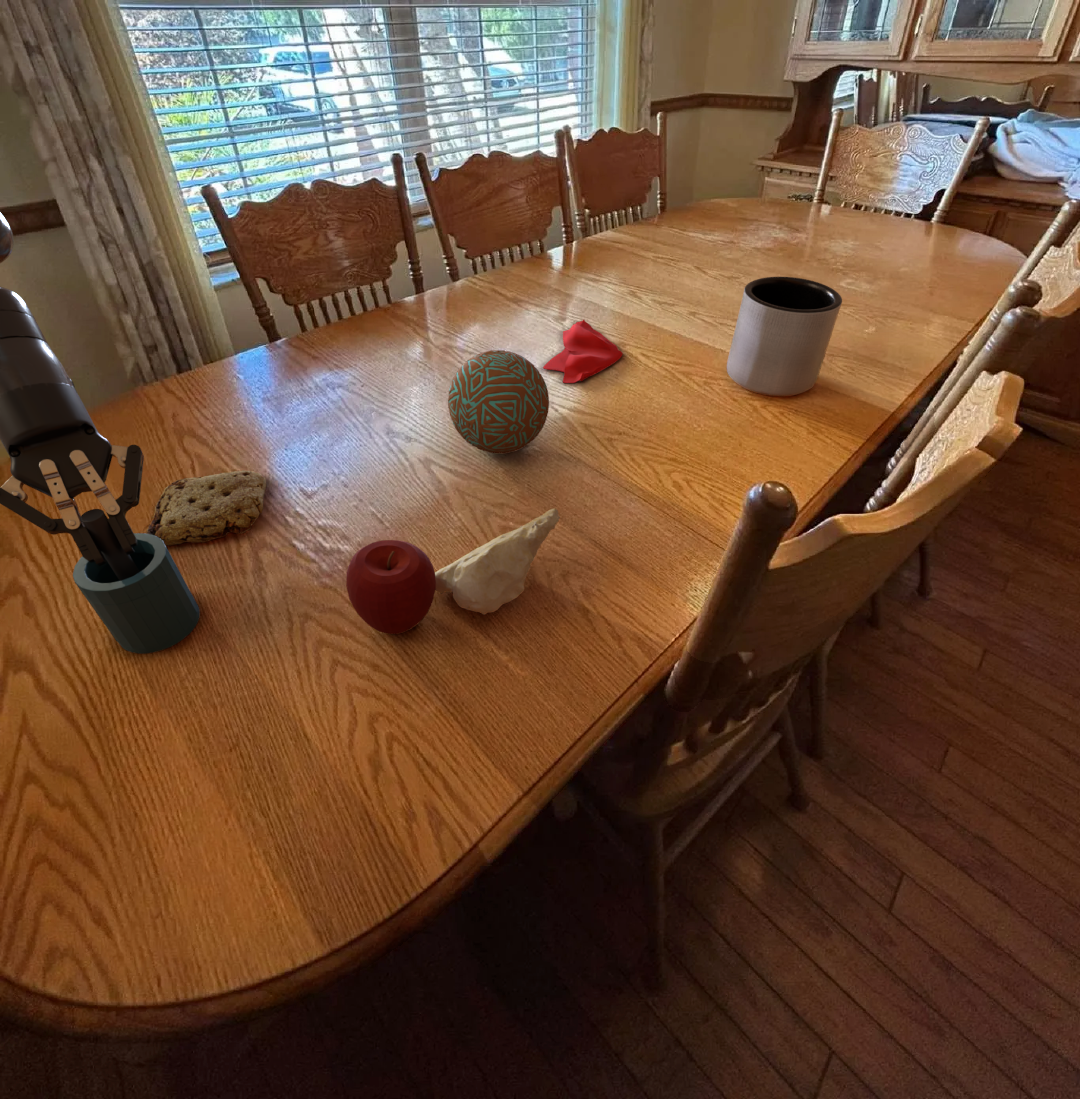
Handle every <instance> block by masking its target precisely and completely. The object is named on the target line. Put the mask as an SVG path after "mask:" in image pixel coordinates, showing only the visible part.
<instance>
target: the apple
mask: <svg viewBox="0 0 1080 1099" xmlns="http://www.w3.org/2000/svg"><path fill="white" fill-rule="evenodd" d="M435 572H436V571H435V568H434V565H433V562H432V560H430V558H429V556H428V555H427V553H426V552H425V551H423V550H422V549H421V548H420V547H418V546H416V545H415V544H413V543H411V542H409V541H404V540H399V539H385V540H384V539H382V540H377V541H374V542H371V543H368V544H367V545H365V546H363V547H361V548H360V549H359V550H357V551H356V552H355V553H354V555H352V558H351V559H350V562H349V564H348V566H347V568H346V575H345V576H346V578H345V579H346V580H345V587H346V591H347V596H348V599H349V601H350V604H351V605H352V607H353V609H354V610H355V612H356V613H357V615H358V616H359V617H360V618H361V620H362V621H364V622H365V624H367V625H368V626H369V627H370V628H372V629H374V630H375V631H377V632H379V633H383V634H386V635H399V634H402V633H405V632H407V631H409V630H412V629H413V628H414V627H416V626H418V624H420V622H421V621H423V619H424V618H425V617H426V615H427V614H428V612H429V611H430V609H431V608H432V604H433V602H434V598H435V595H436V590H435V589H436V577H435Z"/></svg>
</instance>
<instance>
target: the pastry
mask: <svg viewBox="0 0 1080 1099" xmlns="http://www.w3.org/2000/svg"><path fill="white" fill-rule="evenodd" d="M266 488H267V479H266V478H265V477H264V476H263V475H262V473H259V472H256V471H255V470H245V469H243V470H237V471H235V470H234V471H229V472H220V473H216V474H209V475H205V476H199V477H183V478H180V479H176V480H175V481H173V482H172V483H171V484H169V485H167V486H166V487H165V488H164V489H163V492H162V494H161V495H160V497H159V499H158V501H157V502H156V504H155V507H154V513H153V516H152V520H151V522H150V524H148V527H147V528H146V532H145V533H146V534H150V535H155V536H157V537H158V538H160V539H161V540H163V542H164V544H165V545H166V546H168V547H169V546H175V545H182V544H183V543H205V542H209V541H211V540H216V539H220V538H224V537H226V536H227V534H229V533H234V534H237V535H238V534H239V535H240V534H244V533H246V532H247V531H250V530H251V529H252V525H253V524H254V523H255V522H256V520H257V519H259V516H260V514H262V513H263V511H264V497H265V495H266V494H265V493H266Z"/></svg>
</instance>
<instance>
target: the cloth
mask: <svg viewBox="0 0 1080 1099" xmlns="http://www.w3.org/2000/svg"><path fill="white" fill-rule="evenodd" d="M562 342H563V347H564V349H563V350H562V351H561V352H559V353H558V354H556V355H554V356H553V357H551V359H550V360H548V361H547V362H546V363H545V364H544V366H542V369H543V370H550V371H557V372H561V373H564V374H563V379H562V383H563V384H576V383H578V382H584V381H585V380H586V379H589V378H590V377H592V376H594V375H596V374H598V373H600V372H602V371H604V370H605V369H607V368H608V367H610V366H612V365H614V364H615V363H617V362H618V361H619V360H620V359H621V358H622V357H623V354H624V353H623V352H622V351H621V350H619V348H618V346H617V345H616V344H614V343H613V342H612V341H611V340H609V339H608V338H607V337H606V336H605V335H603V334H602V333H601V332H600V331H598V330H596V329H594V328H593V326H591V325H590V324H589V323H588V322H587V321H586V320H585V319H582V320H580V321H576V322H575V323H573V324H572V325H571V327H570V328H569V329H566V330H563V331H562Z"/></svg>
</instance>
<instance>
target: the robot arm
mask: <svg viewBox="0 0 1080 1099" xmlns="http://www.w3.org/2000/svg"><path fill="white" fill-rule="evenodd" d="M14 242H15V241H14V234H13V231H12V229H11V226H10V224H9V222H8V220H7V219H6V218H5V216H4V215H3V214H2V213H1V212H0V264H2V263H4V262H5V261H6V260H7V259H8V258H9V257H10V255H11V254H12V252H13V249H14ZM35 318H36V317H35V316H34V314H33V313H32V311H31V309H30V307H29V306H28V304H27V303H26V301H25V300H24V299H23V298H22V297H21V295H19V294H18V293H17V292H15V291H13V290H12V289H9V288H6V287H3V286H0V442H1V444H2V446H3V447H4V449H5V451H6V453H7V455H8V456H9V459H10V467H9V468H10V470H9V471H10V474H11V475H12V476H10V477H9V478H8V479H7V480H6V481H5V482H4V483H3V484H2V485H1V486H0V505H1V506H3V507H5V508H7V509H8V510H10V511H12V512H13V513H14V514H17V515H18V516H20V517H21V518H23V519H25V520H26V521H28V522H30V523H31V524H33V525H35V526H36V527H38V528H40V529H41V530H43V531H44V532H46V533H48V534H50V535H54V536H55V535H56V536H57V535H59V534H68V535H70V536H71V537H72V539H73V541H74V543H75V545H76V546H77V548H78V550H79V553H80V554H81V557H82V556H83V557H84V558H85V559H86V560H87V561H89V562H90V563H92V562H94V561H95V563H96V564H97V565H99V566H101V565H103V564H106V563H107V562H106V560H105V558H104V556H103V554H102V552H101V550H100V549H99V547H98V546H97V544H96V542H95V541H94V539H93V538H92V536H91V535H90V533H89V532H88V530H87V528H86V527H85V526H84V524H83V523H82V521H81V519H80V518H81V516H82V514H81V513H80V510H79V507H78V504H77V501H76V499H75V498H76V497H77V496H79V495H81V494H82V493H89V492H93V494H94V496H95V497H96V499H97V501H99V503H100V504H101V506H102V508H103V509H104V510H105V514H106V516H107V518H108V519H107V520H108V522H109V524H110V526H111V527H112V529H113V531H114V533H115V535H116V537H117V539H118V541H119V542H120V544H121V546H122V548H123V550H124V552H125V553H126V554H127V555H129V554H132V553H134V552H135V551H134V549H133V547H134V546H136V545H137V539H136V537H135V535H134V533H135V532H134V531H133V529H132V527H131V525H130V524H129V521H128V520H127V518H126V516H127V512H129V511H130V510H131V509H133V508H136V507H137V506H139V504H140V497H141V489H142V480H143V470H144V459H145V456H144V455H145V454H144V453H143V451H142V448H141V447H140V446H139V445H137V444H129V445H128V446H122V445H114V444H112V443H111V442H110V441H109V440H108V439H107V438H105V437H104V436H103V435H102V434H100V432H99V431H98V429H97V427H96V425H95V423H94V422H93V419H92V418H91V416H90V414H89V412H88V410H87V408H86V407H85V404H84V402H83V401H82V399H81V396H80V394H78V391H77V389H76V388H75V384H74V382H73V380H72V378H70V376H69V374H68V372H67V370H66V369H65V367H64V365H63V364H62V362H61V361H60V360H59V357H57V355H56V354H55V352H54V351H53V350H52V348H51V346H50V345H49V343H48V341H47V339H46V337H45V336H44V333H43V332H42V330H41V328H40V326H39V324H38V323H37V320H36V319H35ZM113 457H114V458H116V459H117V463H118V465H119V466H120V467H121V468H122V469H124V475H123V484H122V490H121V491H122V492H121V494H120V495H119V497H117V498H115V497H114V496H113V494H112V492H111V491H110V489H109V487H108V486H107V484H106V481H107V478H108V475H109V470H110V466H111V464H112V459H113ZM24 485H25V486H27V487H30V488H32V489H34V490H36V491H37V492H40V493H42V494H43V495H46V496H48V497H50V498H52V499H53V502H54V503H55V506H56V507H57V509H58V511H59V514H60V516H61V518H51V517H50V516H48V515H46V514H45V513H43V512H41V511H40V510H38V509H37V508H35V507H33V506H32V505H30V504H28V503H27V501H28V499H29V495H28V494H27V493H26V492H25V491H24Z"/></svg>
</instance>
